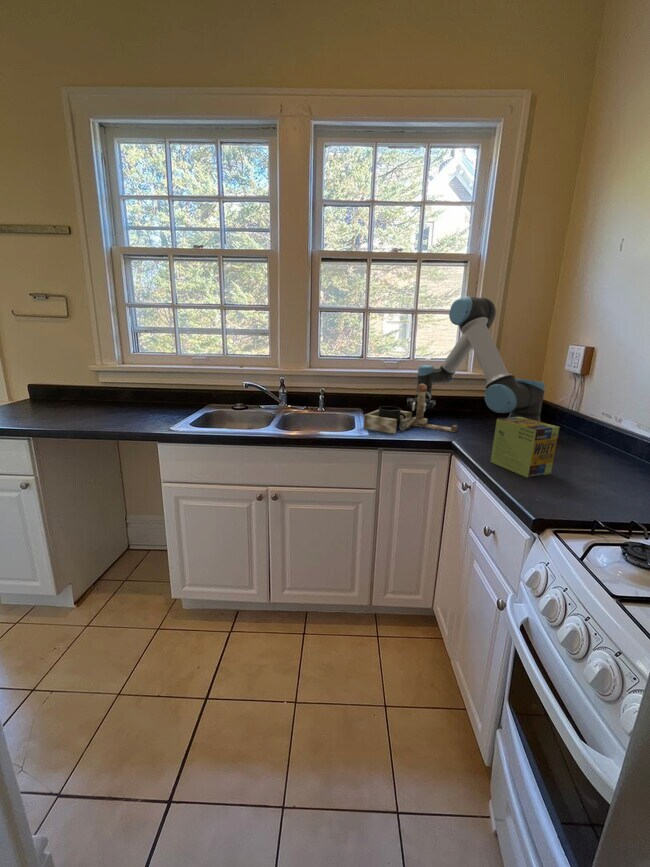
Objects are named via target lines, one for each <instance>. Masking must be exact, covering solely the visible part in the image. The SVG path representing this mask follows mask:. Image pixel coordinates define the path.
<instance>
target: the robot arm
mask: <svg viewBox="0 0 650 867" xmlns="http://www.w3.org/2000/svg"><path fill="white" fill-rule="evenodd" d="M496 314H497V308H496V306H495V304H494V302H493V301H492V300H490V299H488V298H487V297H472V296H460V297H458V298H457V299H455V300H454V302H452V304H451V306H450V310H449V313H448V316H449V318H448V319H449V320H450V322H451V324H453V325H455V326H458V327H459V330H460V332H461V333H462V334H461V336H460V338H459V339H458V341H457V342H456V343H455V345H454V346H453V348H452V349H451V351H450V352H449V354H448V355H447V356H446V358H445V360H444V361H443V363H442V364H441V365H440V367H439V368H434V365H430V364H421V365H419V366H418V370H417V382H416V393H415V396H414V397H413V398H410V397H407V400H406V401H407V402H406V404H407V405H406V407H407V408H410V410H412V411H411V412H413V411H415V409H416V407H417V400H418V389H417V387H418V385H419V384H425V385H426V386H427V390H426V393H425V403H424V408H423V412H424V413H425V412H426V410H429V409H431V410H432V409H434V406H436V401H437V400H436V399H432V390H433V384H442V383H443V384H446V383H451V382H453V381H454V380H453V378H452V375H453V374H454V373H456V371H457V370H458V368H459V367H460V366H461V364H462V362H463V361H464V360H465V358H466V357H467V356H468V354H469V353H470V352H471V350H473V353H474V354H475V357H476V359H477V361H478V364H479V366H480V368H481V370H482V373H483V376H484V377H485V380H486V382H487V383H486V384H485V389H486V390H485V392H484V401H485V403H486V406H487V407H488V409H489V410H491V411H492V412H495V413H499V414H500V413H501V414H507V413H509V415H508V416H507V418H509V417H523V418H527V419H531V420H535V421H539V422H542V421H541V412H542V408H543V406H542V405H543V401H544V397H545V391H546V390H545V389H546V385H545V383H544V382H542V381H538V380H531V379H522V378H516V377H515V375H514V374H512V373H509V372H508V369H507V368H506V366H505V363H504V361H503V359H502V357H501V355H500V352H499V350H498V348H497V345H496V342H494V339H493V336H492V335H491V332H490V328H491V327H492V325H493V323H494V322H495V319H496ZM452 380H453V381H452ZM450 381H451V382H450ZM431 399H432V400H431Z"/></svg>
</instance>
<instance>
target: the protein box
mask: <svg viewBox="0 0 650 867" xmlns="http://www.w3.org/2000/svg"><path fill="white" fill-rule="evenodd" d="M508 417H509V416H508ZM508 417H499V418H497V419H496V422H495V429H494V430H495V431H494V434H493V435H494V436H493V441H492V442H493V443H492V448H491V450H492V451H491V457H490V463H491V464H494V465H497V466H499V467H501V468H503V469H505V470H508V471H510V472H512V473H515V474H518V475H520V476H521V477H525V478H529V479H530V478H533V477H534V478H535V477H539V476H545V475H551V473H552V469H553V464H554V457H555V453H556V447H557V442H558V437H559V432H560V428H561V427H560V426H557V425H554V424H549V423H546V422H542V421H541V422H539V421H535V420H531V419H527V418H523V417H509V418H508Z"/></svg>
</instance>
